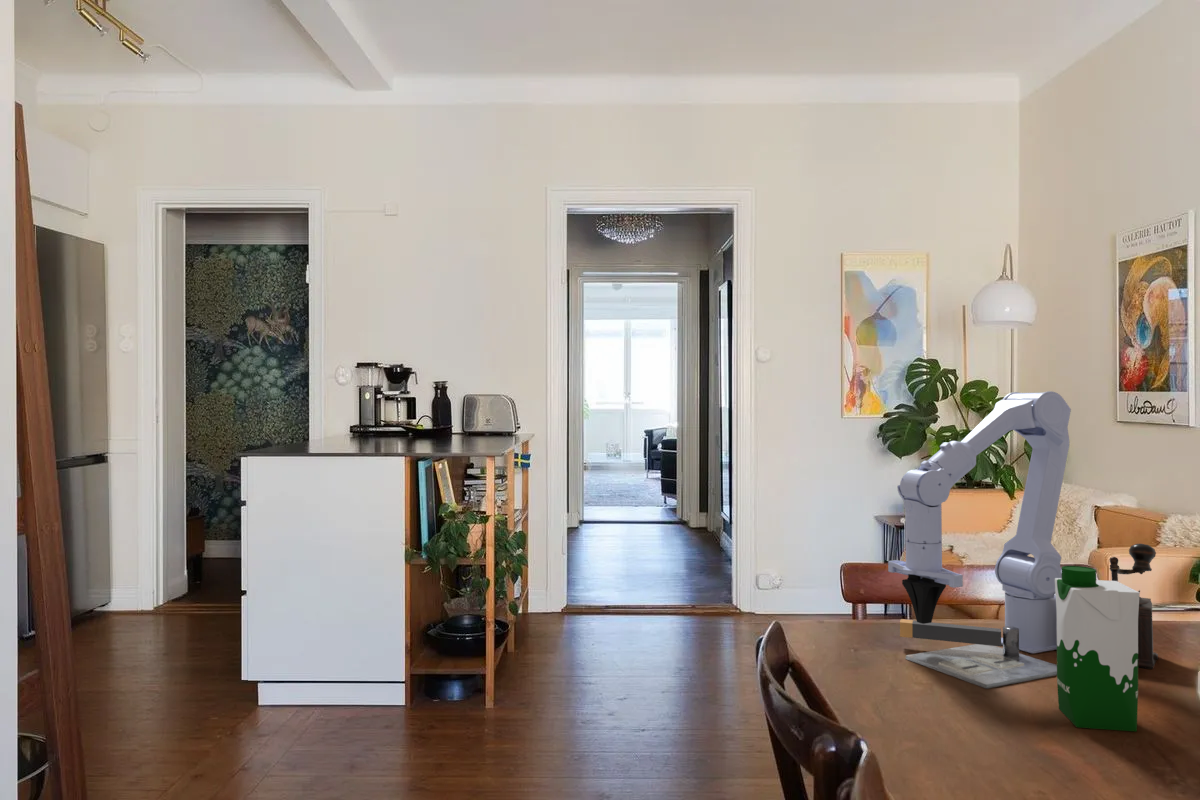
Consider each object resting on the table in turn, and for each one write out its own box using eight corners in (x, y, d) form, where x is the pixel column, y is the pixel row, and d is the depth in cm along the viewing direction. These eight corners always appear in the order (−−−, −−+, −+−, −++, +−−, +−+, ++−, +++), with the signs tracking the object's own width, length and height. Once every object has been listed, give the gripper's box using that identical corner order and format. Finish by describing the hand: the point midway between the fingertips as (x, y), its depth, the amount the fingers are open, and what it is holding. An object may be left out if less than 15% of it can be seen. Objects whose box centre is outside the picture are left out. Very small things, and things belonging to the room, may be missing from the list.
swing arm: (1000, 643, 141) (1000, 628, 141) (1001, 647, 139) (1001, 631, 139) (900, 633, 147) (900, 619, 147) (900, 636, 145) (899, 622, 145)
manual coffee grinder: (1158, 671, 133) (1158, 556, 133) (1078, 659, 139) (1077, 550, 139) (1156, 647, 146) (1156, 543, 146) (1083, 637, 152) (1082, 537, 152)
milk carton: (1049, 706, 117) (1048, 561, 117) (1121, 710, 115) (1120, 564, 115) (1071, 729, 108) (1070, 574, 109) (1149, 735, 107) (1148, 577, 107)
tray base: (984, 646, 146) (984, 617, 146) (1069, 672, 132) (1069, 640, 132) (905, 659, 139) (905, 628, 139) (986, 688, 124) (986, 654, 124)
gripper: (874, 537, 147) (875, 615, 147) (939, 549, 134) (940, 635, 134) (905, 534, 150) (905, 610, 150) (971, 546, 137) (972, 630, 136)
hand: (924, 622), depth 142 cm, fingers closed
